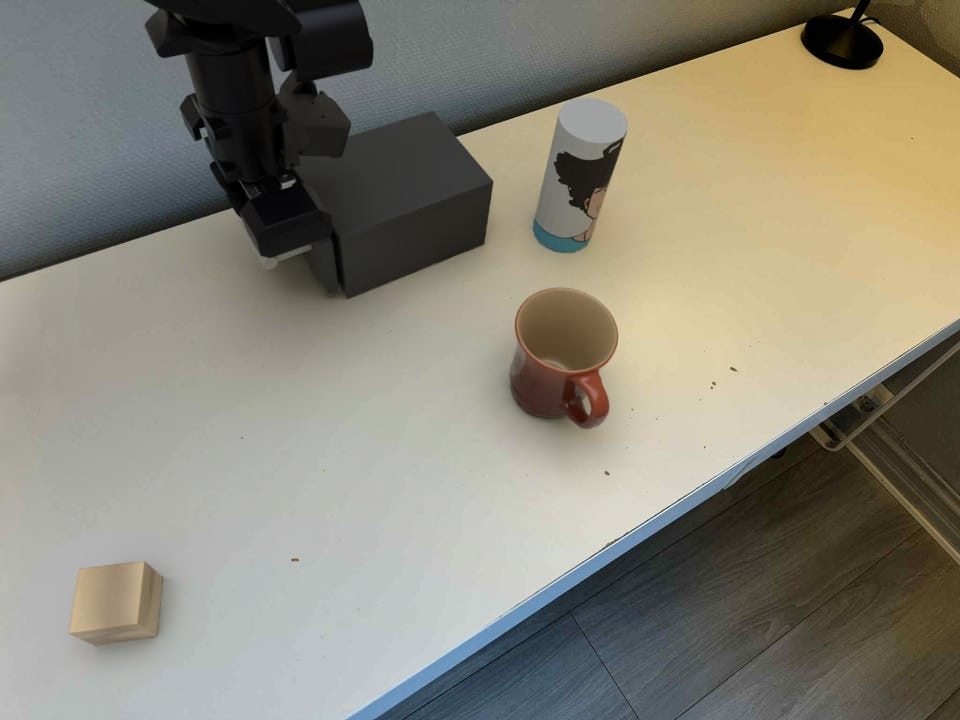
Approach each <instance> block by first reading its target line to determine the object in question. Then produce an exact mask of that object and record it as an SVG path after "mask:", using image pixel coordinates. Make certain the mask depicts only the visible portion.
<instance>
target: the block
mask: <svg viewBox="0 0 960 720" xmlns="http://www.w3.org/2000/svg"><path fill="white" fill-rule="evenodd" d="M163 580H164V576H162V575H161V574H160V573H159V571H157V570H156V569H154V568H153V567H152V566H151V565H150V564H149V563H148V562H146V561H145V560H138V561H129V562H123V563H116V564H108V565H107V564H106V565H99V566H91V567H81V568H79V569H78V571H77V579H76V584H75V589H74V590H75V591H74V597H73V603H72V610H71V614H70V615H71V616H70V622H69V628H68V635H70V636H72V637H74V638H77V639H80V640H82V641H83V642H86V643H88V644H90V645H93V646H99V645H105V644H106V645H107V644H112V643H120V642H128V641H134V640H141V639H149V638H156V637H158V636H159V635H158V633H159V622H160V613H161V602H162V590H163Z"/></svg>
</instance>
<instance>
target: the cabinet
mask: <svg viewBox="0 0 960 720" xmlns="http://www.w3.org/2000/svg"><path fill="white" fill-rule="evenodd" d="M299 159H300V166H297V167H294V168H290V170H291V171H292V173H293V174H294V176H295V178H296V180H297V182H298V183H299V184H300V183H303V184H305V185H307V186H309V187H312V188H313V189H314V190H315V192H316V193H317V195H318V196H319V198H320V199H321V201H322V202H323V204H324V205H325V207H326V208H327V210H328V211H329V213H330V214H331V221H332V229H333V232H334V234H335V235H336V237H337V240H338V248H339V256H340V264H341V268H340V267H339V265H338V264H337V262H336V261H335V264H336V271H337V279H338V286H339V289H340V290H341V291H342V293H343V295H344V296H345V298H346V299H347V300H349V299H351V298H353V297H356V296H359V295H361V294H363V293H366V292H368V291H371V290H374V289H376V288H379V287H381V286H383V285H386V284H388V283H392V282H394V281H396V280H398V279H401V278H403V277H406V276H409V275H410V274H414V273H416V272H419V271H421V270H423V269H426V268H429V267H431V266H433V265H436V264H438V263H440V262H443V261H446V260H448V259H450V258H453V257H456V256H458V255H460V254H463V253H466V252H468V251H470V250H473V249H475V248H477V247H480V246H483V245H484V244H485V243H486V242H485V241H486V235H487V230H488V223H489V215H490V210H491V204H492V203H491V202H492V195H493V190H494V189H493V188H494V182H495V181H494V179H492V178H491V176H490V175H489V174H488V172H487V171H486V170H485V169H484V168H483V167H482V166H481V165H480V164H479V162H478V161H477V160H476V159H475V157H473V155H472V154H471V152H469V151H468V149H467V148H466V147H465V146H464V145H463V143H462V142H461V141H460V140H459V139H458V138H457V136H456V135H455V134H454V133H453V132H452V131H451V130H450V129H449V127H448V126H447V125H446V124H445V122H444V121H443V120H442V119H441V118H440V116H439V115H438V114H437V113H436V111H434V110H430V111H426V112H424V113H423V112H422V113H420V114H417V115H414V116H409V117H408V118H403V119H401V120H398V121H394V122H391V123H388V124H384V125H381V126H377V127H375V128H371V129H368V130H364V131H362V132H358V133H355V134H352V135H348V139H347V142H346V145H345V149H344V152H343V156H342V157H340V158H331V157H330V156H302V155H299Z"/></svg>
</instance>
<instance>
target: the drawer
mask: <svg viewBox="0 0 960 720" xmlns="http://www.w3.org/2000/svg"><path fill="white" fill-rule="evenodd" d="M239 227H240V228H241V230H242V231H243V234H244V235H245V237H246V238H247V241H248V242H249V244H250V245H251V247H252V249H253V251H254V252H255V254H256V256H257V258H258V259H259V261H260V263H261V265H262V267H263V268H264V269H266V270H272V269H274V268H276V267H277V266H278V263H279V262H280V261H283V260H287V259H289V258H292V257H295V256H297V255H300V254H302V255H303V257H304V258H305V260H306V262H307V263H308V265H309V267H310V268H311V270H312V271H313V273H314V275H315V276H316V278H317V280H318V281H319V283H320V284H321V286H322V288H323V289H324V291H325V292H326V294H327V296H331V295H334V294H336V293H339V292H340V287H339V285H338V279H337V271H336V264H335V261H336V262H337V264H338V265H339V267H340V268H341V264H340V256H339V248H338V240H337V237H336V235H335V234H334V232H333V231H332V233H331V235H330V237H328V238H326V239H323V240H320V241H317V242H314V243H312V244H309V245H306V246H303V247H300V248H298V249H295V250H292V251H289V252H286V253H284V254H281V255H278V256H275V257H272V258H267V257H263V256H260V254H259V252H258V251H257V249H256V247H255V245H254V244H253V242H252V240H251V238H250V237H249V235H248V233H247V230H246V228H245V226H244V223H243V220H242V218H240V220H239Z"/></svg>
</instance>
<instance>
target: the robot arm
mask: <svg viewBox="0 0 960 720" xmlns="http://www.w3.org/2000/svg"><path fill="white" fill-rule="evenodd" d="M143 1H144V2H146V3H147V4H149V5H151V6H153V7H155V8H157V10H156V11H155V12H154V13H153V14H152V15H151V16H150V17H149V18H148V19H147V20H146V21H145V23H144V29H145V31H146V33H147V36H148V38H149V40H150V42H151V44H152V46H153V48H154V50H155V52H156V55H157V56H158V57H159V58H161V59H169V58H173V57H179V56H184V59H185V63H186V65H187V69H188V72H189V75H190V79H191V82H192V86H193V89H194V92H192V93H191V92H190V94H187V95H186V96H185V97H184V99H183V100H182V102H181V104H180V105H179V111H180V113H181V118H182V120H183V124H184V125H185V128H186V129H187V131H188V133H189V134H190V136H191V138H192V140H193V141H194V142H198V141H201V140H204V143H205V147H206V149H207V150H208V152H209V154H210V156H211V158H212V159H213V161H211V162H210V163H209V169H210V171H211V172H212V174H213V177H214V178H215V180H216V182H217V183H218V185H219V186H220V187H221V189H222V190H223V191H224V192H225V193H226V194H225V196H226V199H227V200H228V202H229V204H230V207H231V208H232V209H233V211H234V213H235V214H236V215H237V217H238V218H240V219H242V220H243V223H244V226H245V228H246V230H247V233H248V235H249V237H250V238H251V240H252V242H253V244H254V245H255V247H256V249H257V251H258V252H259V254H260V256H263V257H267V258H272V257H275V256H278V255H281V254H284V253H286V252H289V251H292V250H295V249H298V248H300V247H303V246H306V245H309V244H312V243H314V242H317V241H320V240H323V239H326V238H328V237H330V235H331V233H332V231H333V229H332V221H331V214H330V213H329V211H328V210H327V208H326V207H325V205H324V204H323V202H322V201H321V199H320V198H319V196H318V195H317V193H316V192H315V190H314V189H313V188H312V187H309V186H307V185H305V184H303V183H300V184H299V183H298V182H297V180H296V178H295V176H294V174H293V173H292V171H291V170H290V168H294V167H297V166H300V159H299V155H302V156H330V157H331V158H340V157H342V156H343V152H344V149H345V145H346V142H347V139H348V136H350V131H351V128H352V121H351V120H350V119H349V117H348V116H347V115H346V113H345V111H343V109H342V108H341V106H340V105H339V104H338V103H337V101H336V100H335V99H334V98H333V97H331V96H328V94H327V93H326V92H325V91H324V90H319V91H318V88H317V85H316V83H315V81H319V80H323V79H328V78H331V77H336V76H340V75H345V74H349V73H353V72H359V71H363V70H368V69H370V68H371V67H372V65H373V62H374V55H375V54H374V53H375V52H374V51H375V49H374V41H373V38H372V37H371V36H370V31H369V27H368V22H367V19H366V16H365V13H364V9H363V7H362V5H361V2H360V0H143ZM266 38H267V40H268V44H269V48H270V51H271V53H272V56H273V59H274V61H275V63H276V66H277V68H278V69H279V71H280V72H281V73H287V72H290V73H289V74H288V75H287V77H286V78H285V79H284V80H283V82H282V84H281V85H280V87H279V92H278V93H276V90H275V85H274V84H275V83H274V79H273V73H272V68H271V63H270V56H269V51H268V46H267V40H266ZM202 129H205V130H206V134H207V136H204V137H203V136H202V133H201V130H202Z"/></svg>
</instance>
